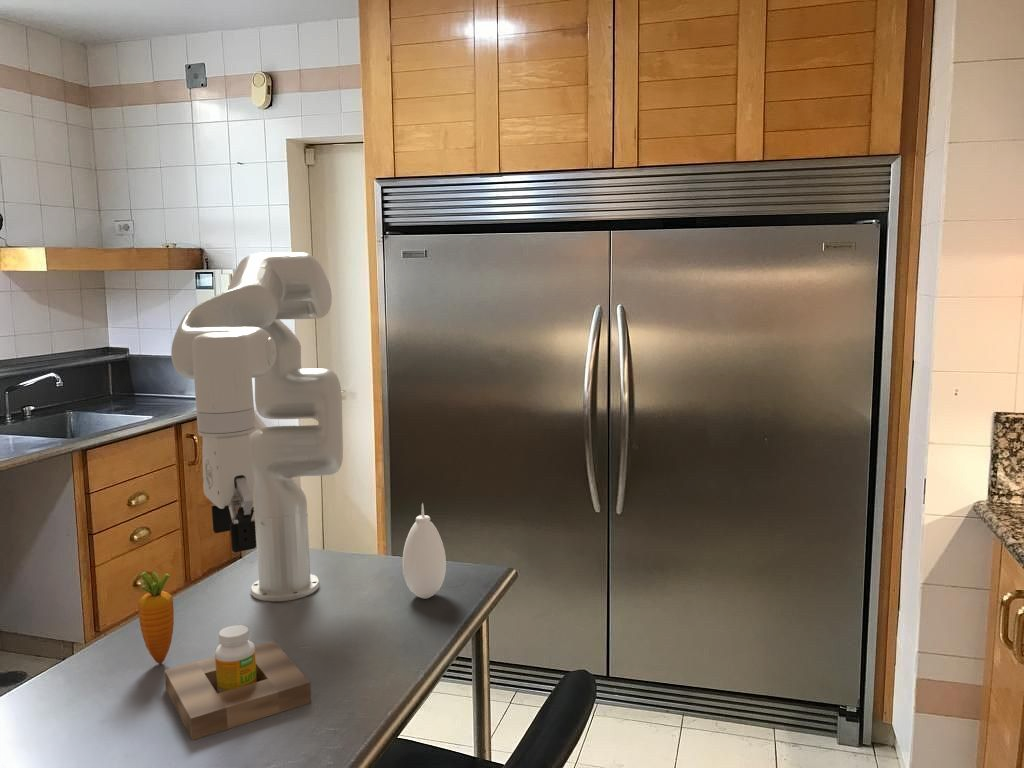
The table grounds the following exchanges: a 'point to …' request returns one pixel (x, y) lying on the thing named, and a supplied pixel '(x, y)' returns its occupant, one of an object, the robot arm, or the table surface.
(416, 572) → the white air blower bulb
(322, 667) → the table surface
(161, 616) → the carrot
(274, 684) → the bore block
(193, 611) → the table surface
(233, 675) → the supplement bottle
